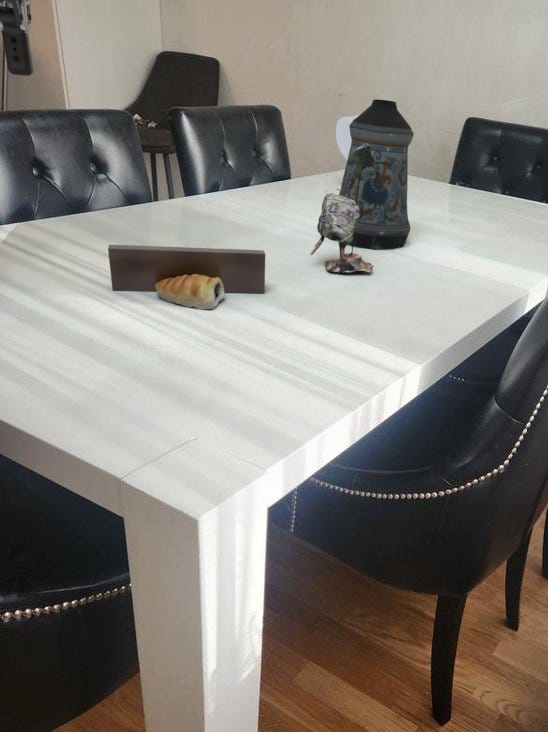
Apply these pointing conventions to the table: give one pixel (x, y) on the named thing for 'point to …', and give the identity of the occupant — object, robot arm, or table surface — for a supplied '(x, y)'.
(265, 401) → the table surface
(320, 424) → the table surface
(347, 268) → the bird figurine
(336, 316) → the table surface
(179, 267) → the backstop
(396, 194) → the beer stein
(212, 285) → the pastry
